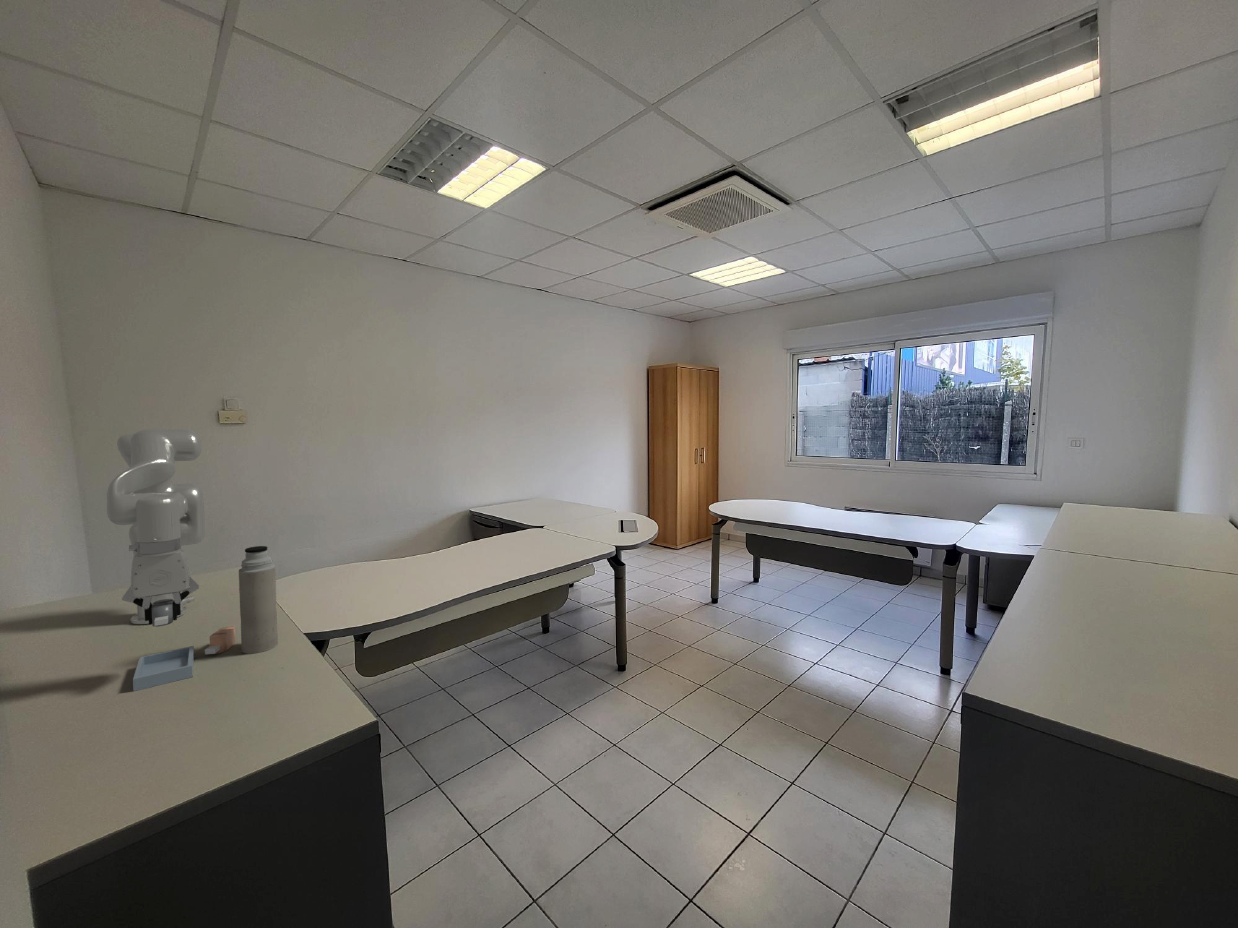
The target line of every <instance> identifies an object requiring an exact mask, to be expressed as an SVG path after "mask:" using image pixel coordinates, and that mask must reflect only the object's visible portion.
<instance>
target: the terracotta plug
mask: <svg viewBox="0 0 1238 928" xmlns="http://www.w3.org/2000/svg"><path fill="white" fill-rule="evenodd" d="M235 644H236V627H235V626H225V627H222V628H219V629H218V630H216V631H215V632H213V633H212V634H211V635H209V646H208V647H207V648H205V649H204V655H217V654H221V653H224V652H226V651H228V650H229V649H230V648H231V647H233V645H235Z"/></svg>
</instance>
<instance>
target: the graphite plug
mask: <svg viewBox="0 0 1238 928" xmlns="http://www.w3.org/2000/svg"><path fill="white" fill-rule="evenodd" d="M151 608H152V627H156V628H157V627H165V626H168V625H171V624H173V622H174V620H173V599H163V600H158V601H155V602H153V605H152V607H151Z"/></svg>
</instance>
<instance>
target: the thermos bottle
mask: <svg viewBox="0 0 1238 928" xmlns="http://www.w3.org/2000/svg"><path fill="white" fill-rule="evenodd" d="M244 552H245V558H244V559H242V561H241V565H240V566H241V567H240V569H238V588H239V589H238V590H239V615H240V636H241V637H240V639H241V640H240V641H241V653H244V654H250V655H251V654H258V653H263V652H267V651H270V650H271V649H274V648H276V647H277V645H279V639H278V638H279V637H278V634H279V633H278V612H277V583H276V582H277V579H276V565H275V564H274V563H273V558H272V557H271V556H269V555H268V554H269V553H268V546H266V545H258V546H257V545H256V546H255V545H254V546H250V547H247V548H245V549H244Z"/></svg>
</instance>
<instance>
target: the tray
mask: <svg viewBox="0 0 1238 928" xmlns="http://www.w3.org/2000/svg"><path fill="white" fill-rule="evenodd" d="M194 647H195V646H194V645H191V646H186V647H181V648H176V649H172V650H165V651H162V652H157V653H153V654H149V655H143V656H140V657H139V659H138V661H137V666H136V669H135V671H134V674H133V677H132V687H133V689H132V690H133V692H135V691H140V690H145V689H148V688H152V687H156V686H161V685H166V684H169V683H173V682H177V681H182V680H186V679H189V678H193V675H194V672H193V671H194V662H195V661H194V660H195V649H194Z"/></svg>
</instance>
